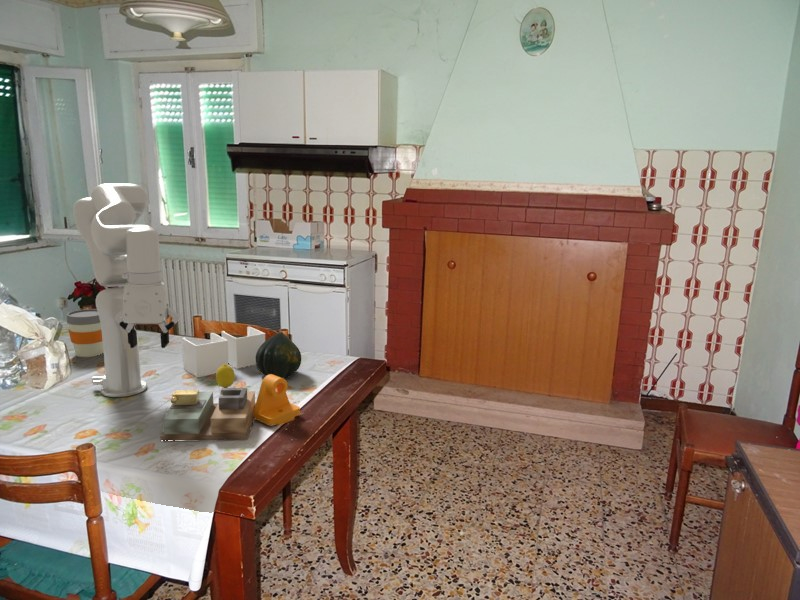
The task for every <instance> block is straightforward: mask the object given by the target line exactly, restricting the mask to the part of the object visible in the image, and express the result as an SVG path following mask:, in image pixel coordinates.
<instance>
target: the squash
mask: <svg viewBox="0 0 800 600" xmlns="http://www.w3.org/2000/svg"><path fill="white" fill-rule="evenodd" d="M301 364H302V354H301V351H300V349H299V347H298V346H297V345H296V344H295V343H294V342H293V341H292V340H291V338H289V337H288V336H287V334H285V333H284V332H282V331H281V332H277V333H275V334H273V335H272V336H270V337H269V338H268V339H265V342H264V343H263V344H262V345H261V346H260V347H259V349H258V351H257V353H256V365H255V366H256V368H257V369H258V371H259V372H260V374H262V375H263V376H265V377H266V376H267V375H269V374H273V375H275V376H278V377H281V378H283V379H285V378H290V377H292V376H293V375H295V373H296V372H297V371H298V370H299V369H300V367H301Z"/></svg>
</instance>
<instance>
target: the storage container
mask: <svg viewBox="0 0 800 600" xmlns="http://www.w3.org/2000/svg"><path fill="white" fill-rule="evenodd" d="M246 331H247V332H246V334H247V335H245V336H242V337H236V336H233V335H231V334H229V333H227V332H226V331H225V330H221V336H220V335H219V334H217V333H215V332H210V333H209V336H210V337H209V339H210V342H208V343H202V344H195V343H193V342H192V341H189V340H187V338H186V337H182V338H181V342H182V343H181V344H182V362H183V363H182V365H183V369H184V370H185V371H186V372H189V374H191V375H192V376H193V377H195V378H201V377H206V376H209V375H210V376H211V375H214V374H215V373H217V370H218V369H219V367H221V366H223V365H224V364H226V365H228V366H231V365H232V366H231V367H233V366H234V367H233V368H235V369H236V368H238V369H242V368H241V367H243V368H247V367H246V366H248V367H251V366H250V365H252V366H255V365H254V364H256V353H257V351H258V349H259V347H260V346H261V345H262V344H263V343H264V342H265V341H266V332H263V331H261V330H258V329H257V328H254V327H251V326H247V327H246ZM228 363H229V364H228ZM215 375H216V374H215Z"/></svg>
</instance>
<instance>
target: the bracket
mask: <svg viewBox="0 0 800 600" xmlns="http://www.w3.org/2000/svg"><path fill="white" fill-rule="evenodd" d="M288 385H289V384H288V381H287V380H286V379H285V378H281V377H278V376H275V375H273V374H269V375H267V376H266V375H265V376H264V377H263V379H262V380H261V383H260V387H259V391H258V395H257V399H256V400H255V403H256V405H255V408H254V420H257V421H259V422H261V423H263V424H265V425H267V426H275V425H276V426H278V427H279V426H281V425H284V424H286V423H289V422H291V421H294V420H295V417H298V416H300V415H301V407H300V406H299V405H296V404H294V403H291V402H290V401H289V397H288V395H287V390H288Z"/></svg>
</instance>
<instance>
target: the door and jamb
mask: <svg viewBox="0 0 800 600" xmlns="http://www.w3.org/2000/svg"><path fill="white" fill-rule="evenodd" d="M255 405H256V391H254V390H248V387H228V388H223V387H222V395H219V396H218V402H217V403H214V391H199V402H198V404H197V405H173V403H171V406H170V407H169V410H168V411H167V412H166V414H165V416H164V417H163V418H162V427H163V431H162V433H161V434H160V437H159V439H160V441H161V440H163V441H165V440H166V441H168V440H173V441H172V442H176V441H175V440H217V441H246V440H247V441H248V439H249V435H250V432H251V429H252V426H253V423H254V420H255V419H254V408H255Z"/></svg>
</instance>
